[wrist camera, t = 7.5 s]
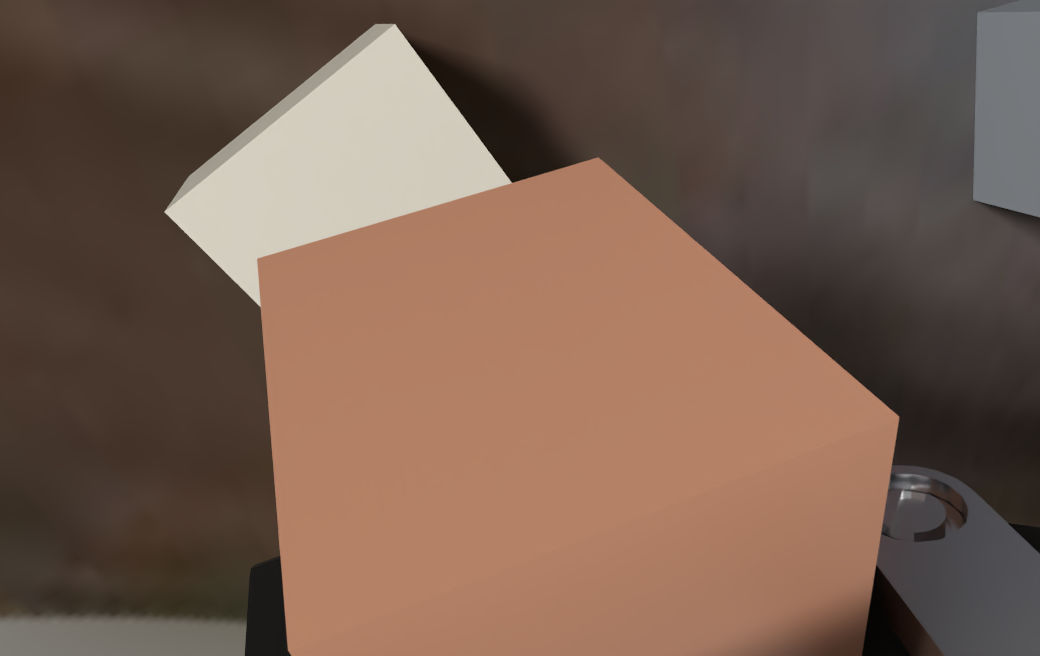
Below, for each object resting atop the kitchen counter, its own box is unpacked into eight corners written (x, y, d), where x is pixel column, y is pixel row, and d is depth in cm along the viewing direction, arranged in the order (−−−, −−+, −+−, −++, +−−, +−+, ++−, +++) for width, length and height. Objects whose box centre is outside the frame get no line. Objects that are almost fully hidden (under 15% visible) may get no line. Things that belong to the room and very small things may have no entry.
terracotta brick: (643, 543, 13) (829, 859, 9) (414, 632, 12) (506, 1015, 8) (598, 157, 9) (899, 417, 5) (256, 258, 8) (288, 650, 4)
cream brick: (561, 272, 27) (614, 322, 23) (405, 397, 27) (427, 472, 23) (374, 23, 23) (395, 23, 18) (190, 174, 23) (164, 211, 18)
